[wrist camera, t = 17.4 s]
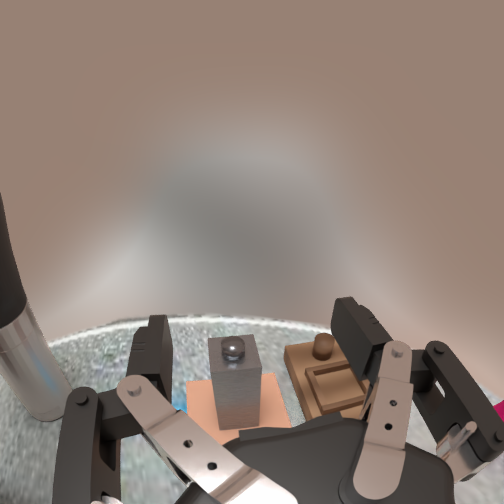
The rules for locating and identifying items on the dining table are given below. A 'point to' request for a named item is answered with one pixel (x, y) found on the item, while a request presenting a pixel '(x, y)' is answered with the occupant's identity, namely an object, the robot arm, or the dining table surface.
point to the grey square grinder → (235, 381)
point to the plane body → (324, 378)
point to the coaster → (206, 415)
